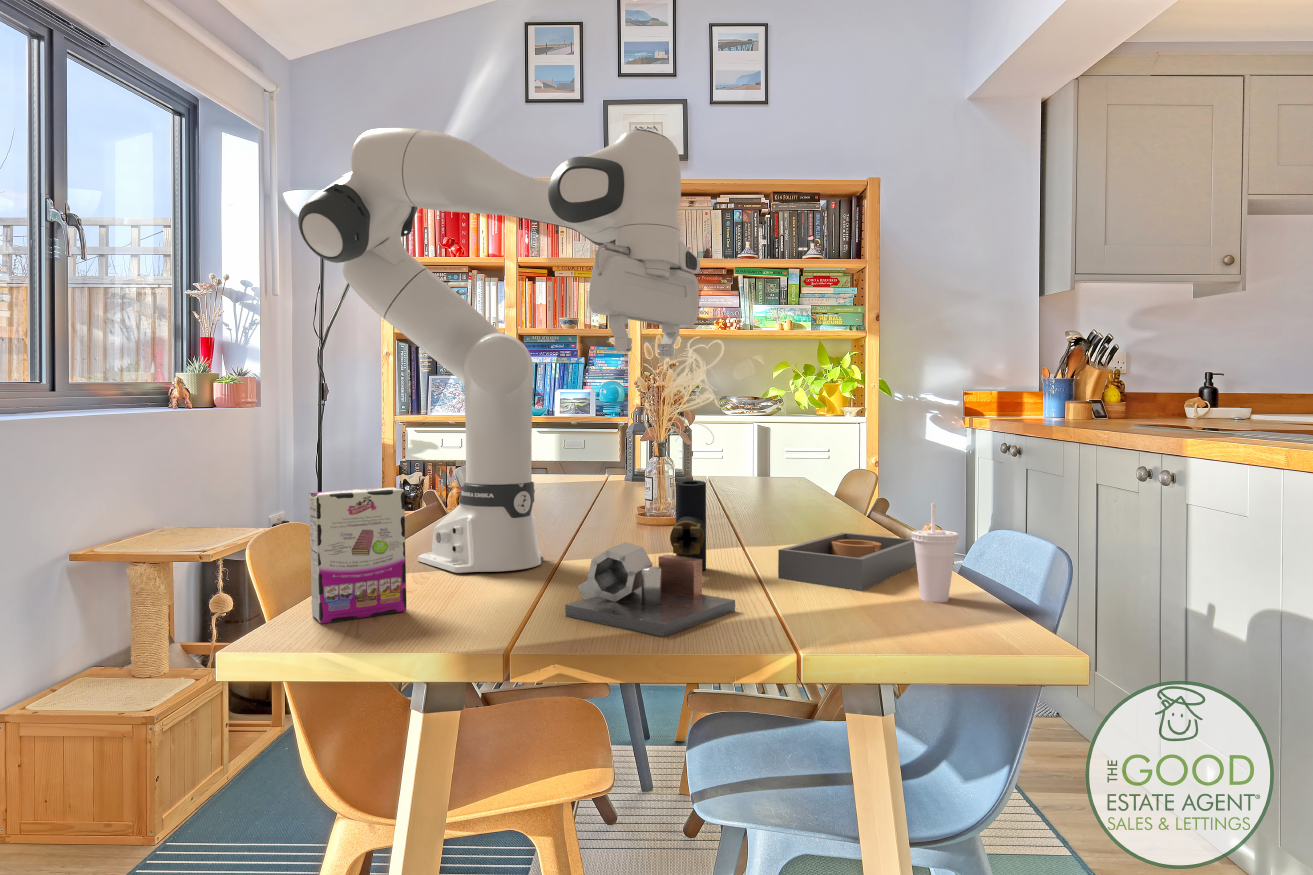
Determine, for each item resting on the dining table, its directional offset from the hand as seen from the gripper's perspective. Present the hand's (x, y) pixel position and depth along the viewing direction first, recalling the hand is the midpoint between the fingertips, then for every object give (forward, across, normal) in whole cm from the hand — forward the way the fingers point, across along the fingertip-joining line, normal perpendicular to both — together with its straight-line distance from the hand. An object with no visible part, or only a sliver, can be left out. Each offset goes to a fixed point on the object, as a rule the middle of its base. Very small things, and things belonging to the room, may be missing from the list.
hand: (644, 354), depth 111 cm
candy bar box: (+36, -27, +26) cm, 52 cm away
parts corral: (+34, +38, -15) cm, 53 cm away
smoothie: (+34, +28, -32) cm, 54 cm away
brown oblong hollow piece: (+37, +44, -8) cm, 58 cm away
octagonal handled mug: (+30, -6, 0) cm, 30 cm away
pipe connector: (+35, +20, +5) cm, 40 cm away
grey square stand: (+35, -3, -5) cm, 35 cm away
